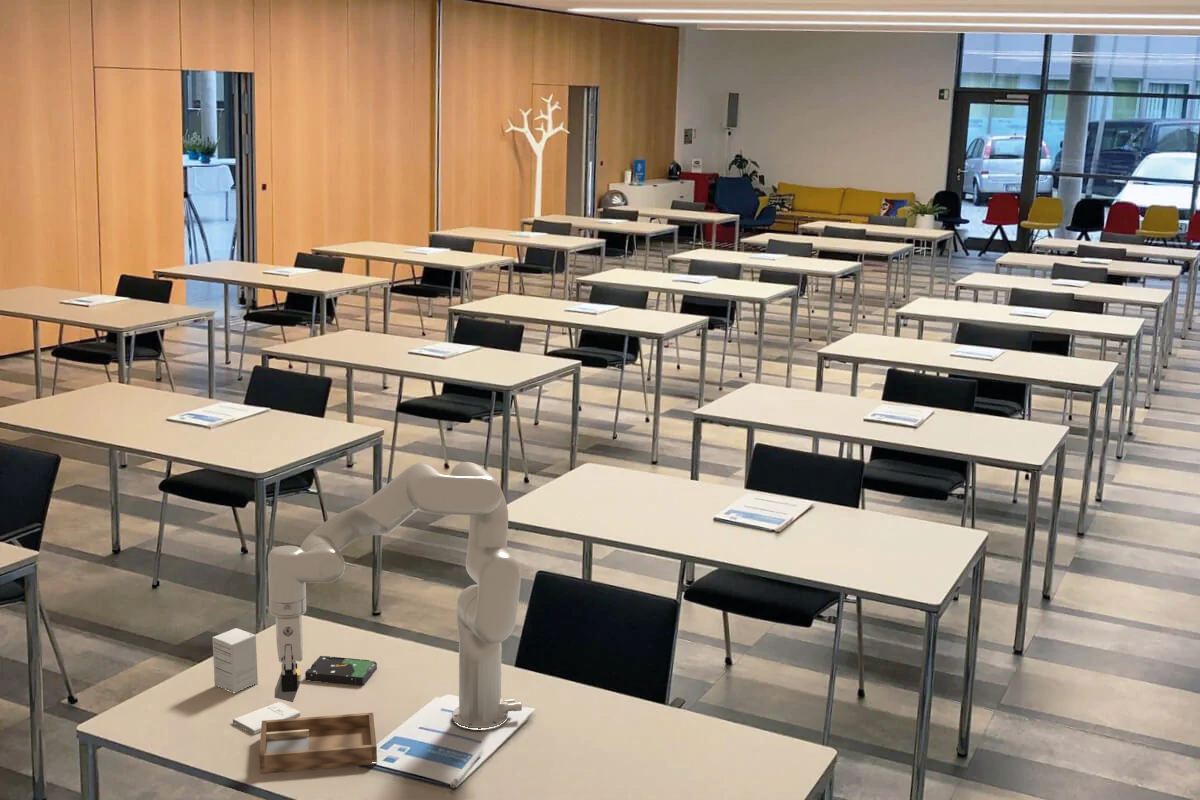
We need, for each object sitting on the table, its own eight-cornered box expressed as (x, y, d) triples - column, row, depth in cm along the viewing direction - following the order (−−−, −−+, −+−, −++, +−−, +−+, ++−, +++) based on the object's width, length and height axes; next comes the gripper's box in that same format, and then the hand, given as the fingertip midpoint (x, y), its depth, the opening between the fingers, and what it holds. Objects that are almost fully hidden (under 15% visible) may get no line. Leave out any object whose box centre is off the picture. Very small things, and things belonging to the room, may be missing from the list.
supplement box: (238, 675, 318) (236, 626, 316) (258, 684, 314) (257, 634, 311) (213, 686, 312) (211, 636, 310) (233, 694, 308) (231, 644, 305)
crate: (373, 728, 293) (373, 712, 292) (376, 763, 278) (376, 746, 277) (262, 737, 288) (261, 720, 287) (259, 773, 273) (259, 755, 272)
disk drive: (304, 683, 316) (364, 687, 314) (304, 672, 316) (363, 677, 314) (320, 665, 326) (377, 669, 324) (319, 655, 326) (377, 659, 324)
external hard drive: (232, 725, 295) (278, 706, 304) (254, 736, 290) (300, 717, 299) (232, 718, 294) (278, 700, 304) (254, 730, 289) (300, 711, 298)
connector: (293, 694, 281) (302, 669, 280) (292, 702, 277) (302, 677, 276) (274, 689, 280) (284, 664, 279) (274, 697, 276) (284, 672, 275)
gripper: (306, 619, 267) (308, 702, 271) (306, 589, 283) (307, 668, 287) (268, 621, 265) (270, 705, 270) (270, 591, 281) (272, 671, 285)
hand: (289, 685), depth 278 cm, fingers closed on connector, 4 cm apart
